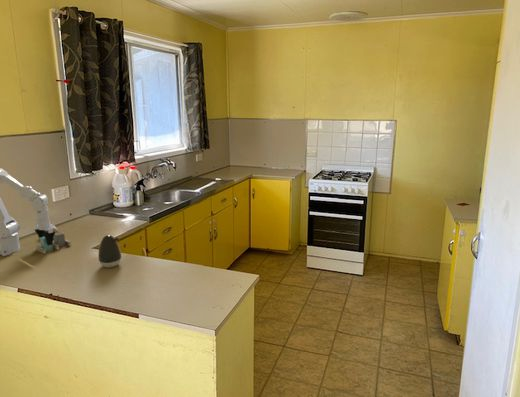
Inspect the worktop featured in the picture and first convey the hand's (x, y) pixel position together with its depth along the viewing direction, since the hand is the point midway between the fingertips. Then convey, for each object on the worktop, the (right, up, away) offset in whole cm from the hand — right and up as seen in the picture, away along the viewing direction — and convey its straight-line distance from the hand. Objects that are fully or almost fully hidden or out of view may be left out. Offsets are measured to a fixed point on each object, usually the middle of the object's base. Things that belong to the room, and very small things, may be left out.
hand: (46, 243), depth 202 cm
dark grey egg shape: (+40, -9, -17) cm, 44 cm away
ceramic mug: (-7, +1, +21) cm, 23 cm away
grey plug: (+4, -2, +6) cm, 8 cm away
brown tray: (+2, -4, +4) cm, 6 cm away
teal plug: (0, -4, +1) cm, 4 cm away
